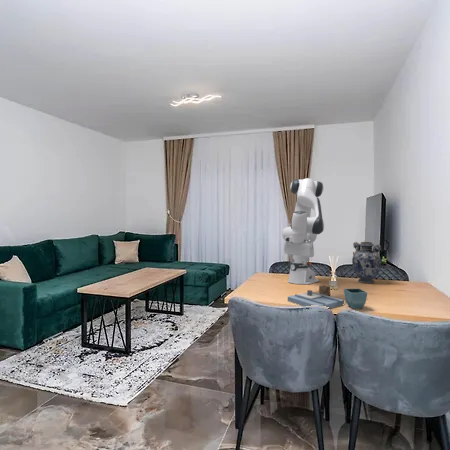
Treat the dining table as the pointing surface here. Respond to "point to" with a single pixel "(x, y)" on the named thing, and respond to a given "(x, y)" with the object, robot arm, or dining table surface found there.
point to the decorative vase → (366, 261)
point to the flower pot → (355, 297)
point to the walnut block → (324, 290)
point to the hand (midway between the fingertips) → (298, 263)
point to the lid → (310, 295)
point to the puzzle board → (316, 300)
